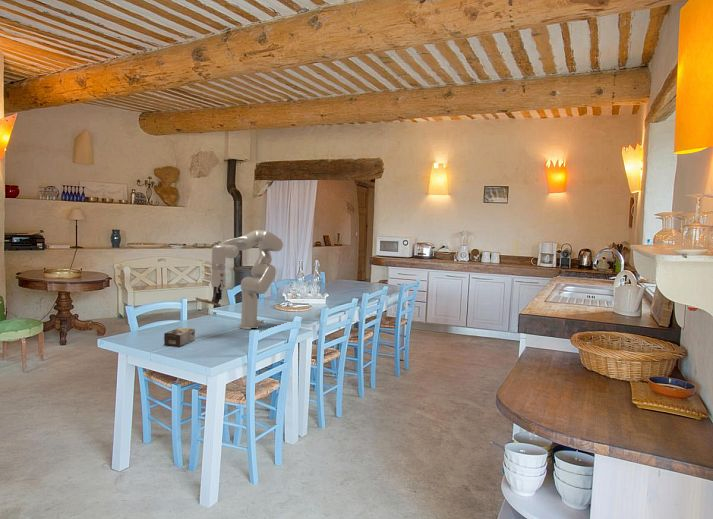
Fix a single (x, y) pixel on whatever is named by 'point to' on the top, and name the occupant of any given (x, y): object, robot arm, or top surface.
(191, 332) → the coffee box
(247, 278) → the robot arm
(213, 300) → the brown l-shaped piece
